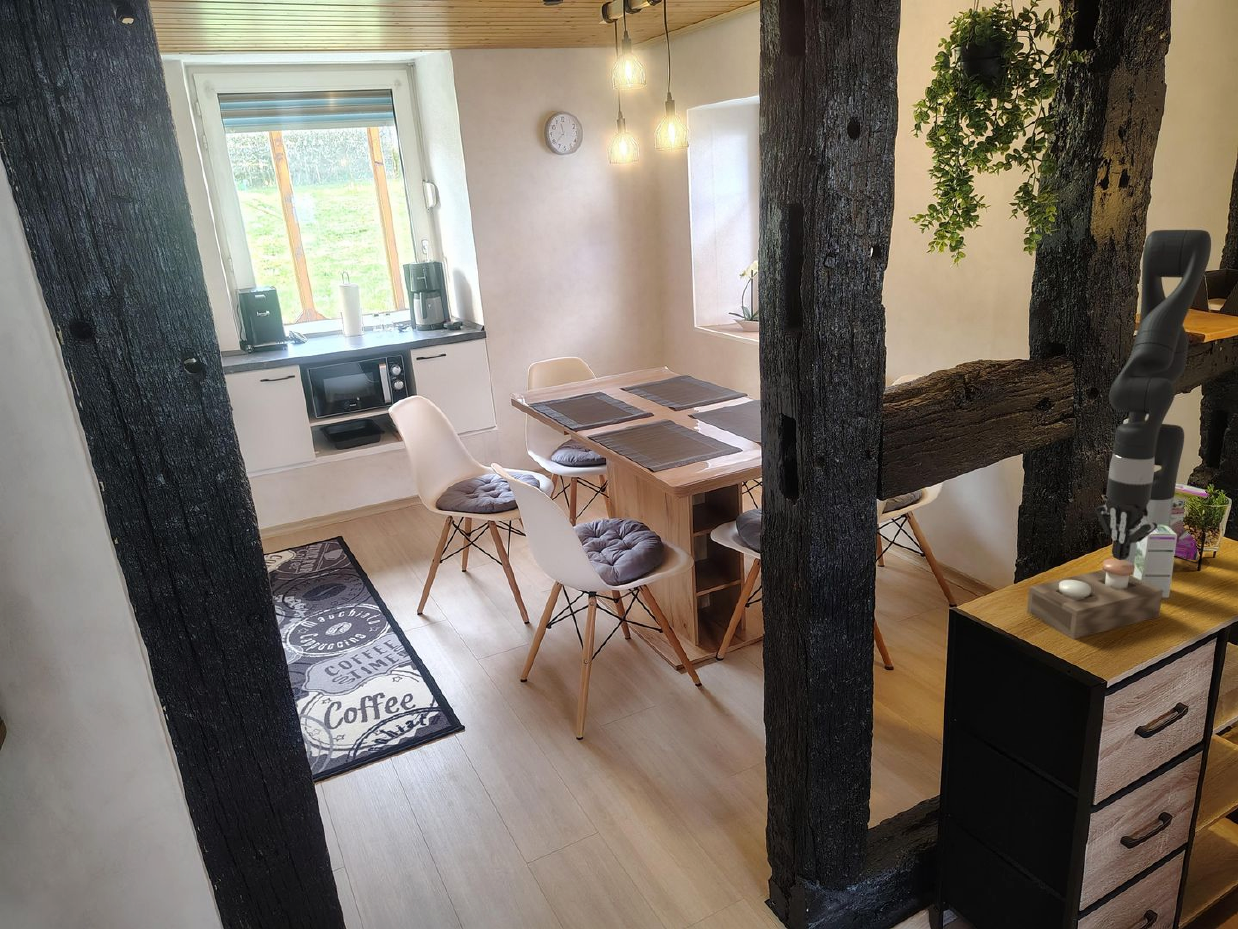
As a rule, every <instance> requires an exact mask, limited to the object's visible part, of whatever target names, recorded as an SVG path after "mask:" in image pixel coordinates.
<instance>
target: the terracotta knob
mask: <svg viewBox="0 0 1238 929" xmlns="http://www.w3.org/2000/svg"><path fill="white" fill-rule="evenodd" d="M1134 569H1135V565H1134V564H1133V563H1131V562H1128V561H1125V560H1118V559H1116V558H1107V559H1104V560H1103V561H1102V570H1104V571H1106V579H1105V585H1107V586H1109V587H1111V588H1113V589H1116V590H1121V589H1125V588H1127V586H1128V579H1129V575H1131V576H1133V573H1134Z"/></svg>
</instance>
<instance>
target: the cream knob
mask: <svg viewBox="0 0 1238 929" xmlns="http://www.w3.org/2000/svg"><path fill="white" fill-rule="evenodd" d="M1059 591H1060V592H1061V593H1063V595H1064V596H1066V597H1068V598H1070V599H1072V600H1074V601H1076V600H1080V599H1084V598H1085V597H1087V596H1089V595H1090V592H1091V587H1090V586H1089V585H1088V584H1086V583H1084V582H1081V581H1077V580H1064V581H1061V582H1060V583H1059Z"/></svg>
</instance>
